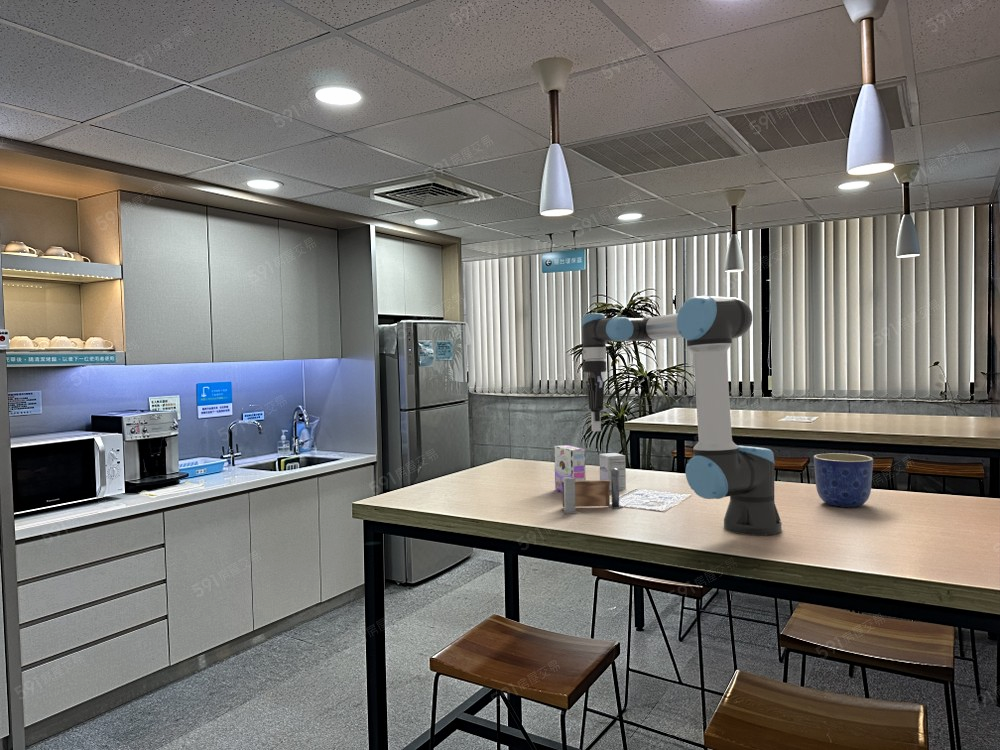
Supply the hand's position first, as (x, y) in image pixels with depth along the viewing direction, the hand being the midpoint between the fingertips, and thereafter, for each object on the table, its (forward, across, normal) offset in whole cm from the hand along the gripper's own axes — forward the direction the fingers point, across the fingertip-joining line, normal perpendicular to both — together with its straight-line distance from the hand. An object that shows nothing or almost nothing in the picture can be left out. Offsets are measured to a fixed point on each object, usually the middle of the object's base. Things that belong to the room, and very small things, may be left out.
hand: (596, 430), depth 226 cm
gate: (+24, +6, -6) cm, 25 cm away
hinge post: (+24, +8, +4) cm, 26 cm away
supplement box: (+24, -22, +13) cm, 35 cm away
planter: (+25, +23, +74) cm, 81 cm away
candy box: (+24, -20, -4) cm, 31 cm away
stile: (+24, +10, -13) cm, 29 cm away
